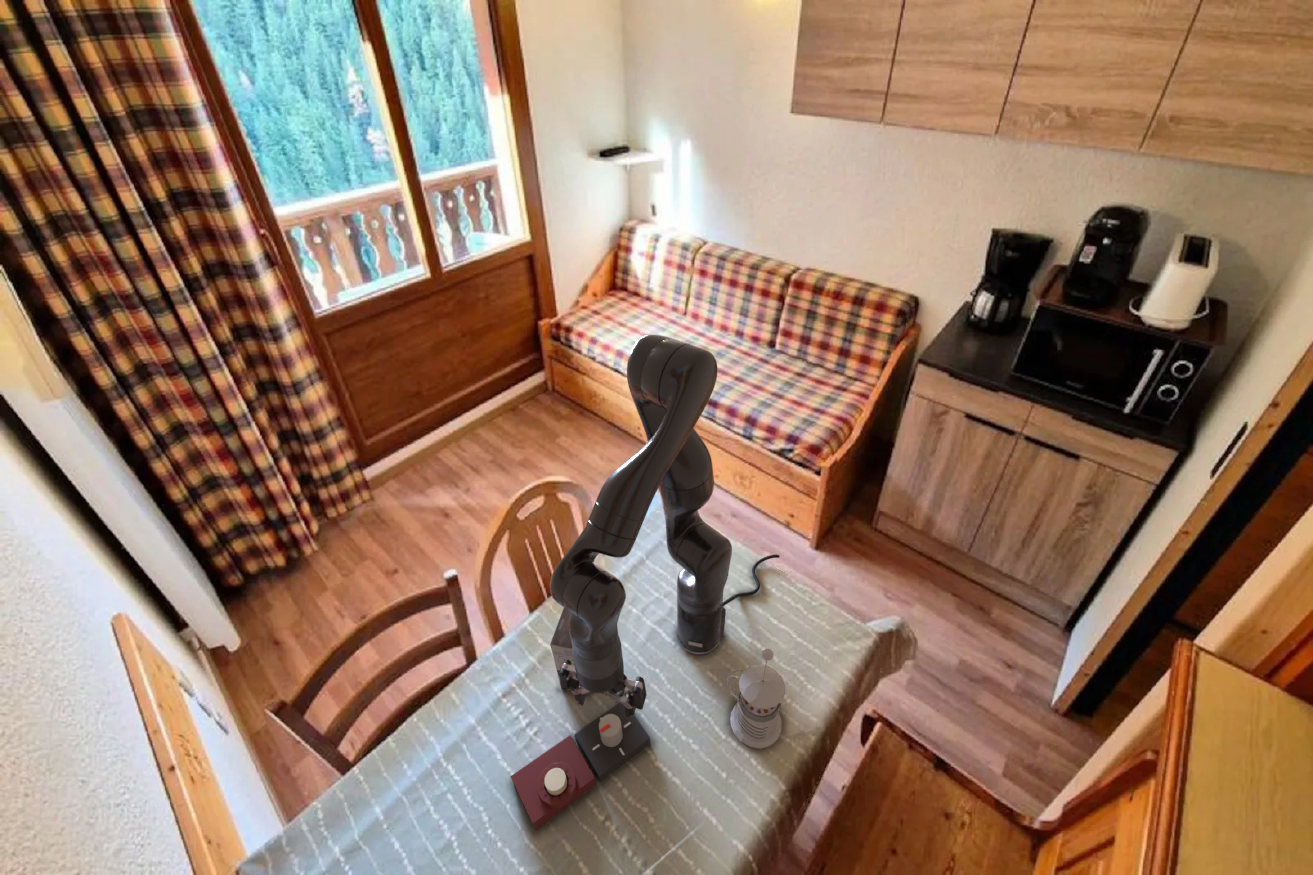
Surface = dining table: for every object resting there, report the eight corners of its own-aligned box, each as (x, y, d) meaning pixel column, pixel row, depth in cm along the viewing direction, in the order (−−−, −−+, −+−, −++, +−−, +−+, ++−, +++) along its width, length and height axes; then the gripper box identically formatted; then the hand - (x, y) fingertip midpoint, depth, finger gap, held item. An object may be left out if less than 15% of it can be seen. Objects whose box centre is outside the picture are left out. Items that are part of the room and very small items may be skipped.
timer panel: (624, 705, 113) (623, 699, 111) (650, 744, 107) (650, 738, 105) (575, 739, 108) (573, 733, 106) (600, 782, 102) (598, 776, 101)
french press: (762, 760, 104) (776, 693, 89) (712, 717, 111) (717, 647, 95) (791, 719, 110) (810, 649, 94) (742, 680, 116) (751, 608, 100)
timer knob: (615, 720, 108) (613, 708, 105) (626, 738, 106) (625, 726, 103) (597, 733, 106) (594, 721, 103) (608, 752, 104) (606, 740, 101)
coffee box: (590, 694, 115) (581, 651, 105) (560, 688, 116) (548, 645, 106) (603, 653, 122) (595, 608, 111) (574, 648, 123) (564, 603, 113)
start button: (561, 768, 100) (559, 763, 99) (571, 786, 98) (569, 781, 96) (542, 781, 99) (540, 776, 97) (552, 800, 96) (550, 795, 95)
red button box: (572, 742, 108) (569, 730, 105) (599, 788, 102) (596, 777, 98) (513, 783, 103) (508, 772, 99) (537, 834, 96) (533, 824, 93)
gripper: (648, 644, 90) (651, 695, 100) (563, 624, 93) (575, 676, 103) (635, 689, 84) (639, 738, 94) (545, 667, 87) (559, 717, 97)
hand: (605, 705), depth 99 cm, fingers open, 8 cm apart
